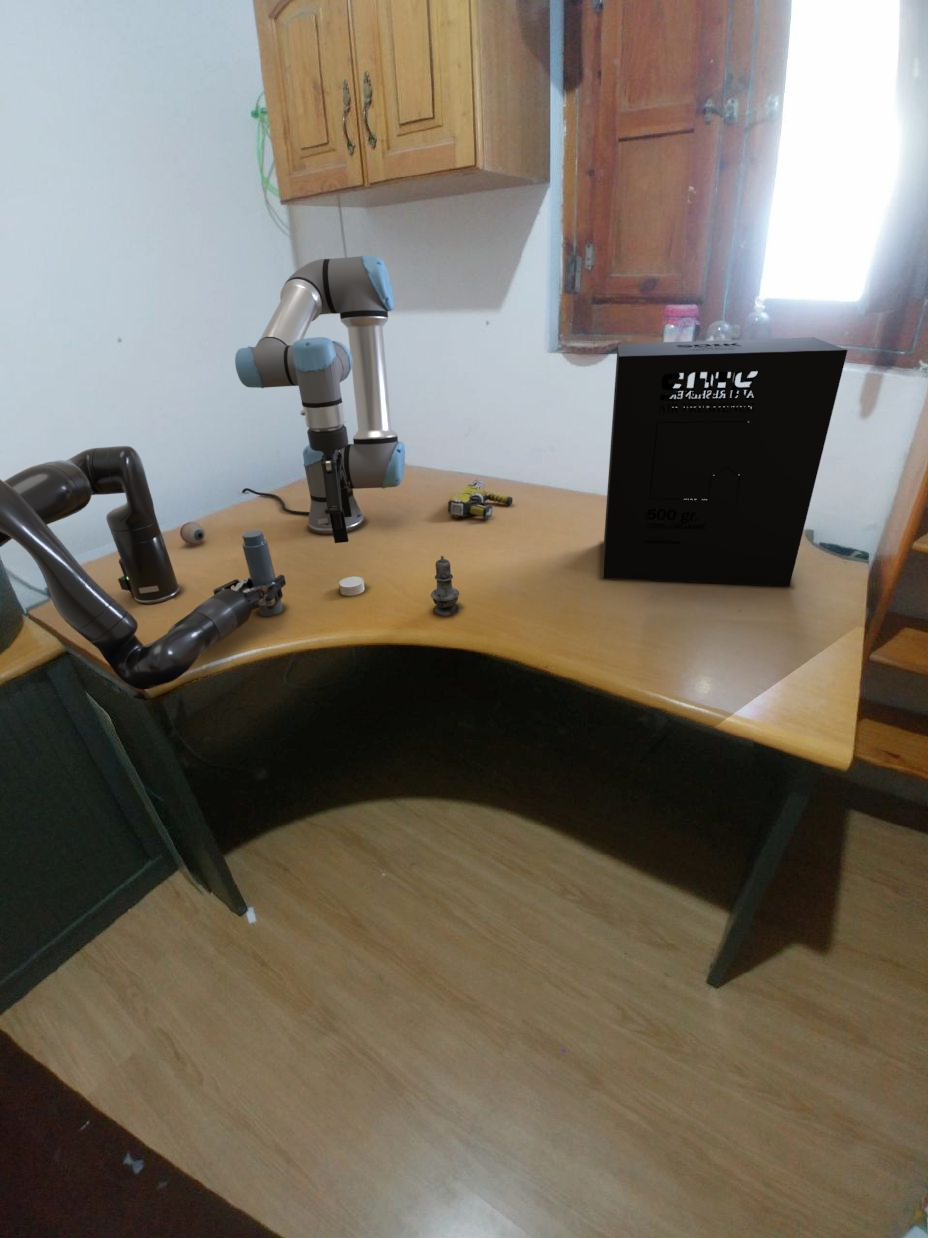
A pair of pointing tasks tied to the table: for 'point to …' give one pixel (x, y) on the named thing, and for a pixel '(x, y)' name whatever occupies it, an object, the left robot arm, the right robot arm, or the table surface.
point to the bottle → (260, 565)
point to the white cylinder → (351, 586)
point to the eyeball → (192, 533)
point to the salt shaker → (444, 590)
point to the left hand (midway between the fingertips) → (271, 577)
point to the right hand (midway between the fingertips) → (343, 528)
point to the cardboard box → (716, 458)
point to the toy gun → (475, 501)
